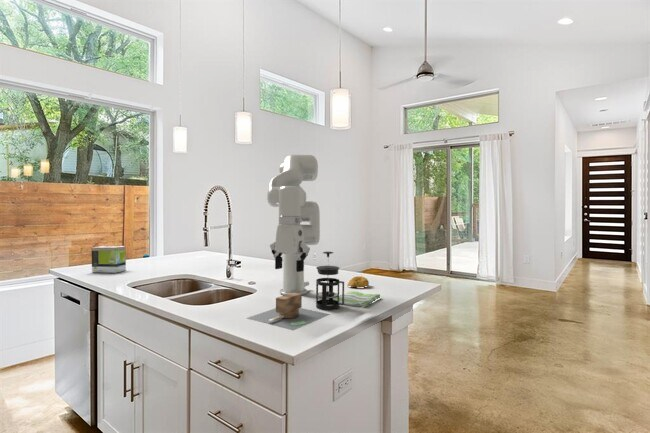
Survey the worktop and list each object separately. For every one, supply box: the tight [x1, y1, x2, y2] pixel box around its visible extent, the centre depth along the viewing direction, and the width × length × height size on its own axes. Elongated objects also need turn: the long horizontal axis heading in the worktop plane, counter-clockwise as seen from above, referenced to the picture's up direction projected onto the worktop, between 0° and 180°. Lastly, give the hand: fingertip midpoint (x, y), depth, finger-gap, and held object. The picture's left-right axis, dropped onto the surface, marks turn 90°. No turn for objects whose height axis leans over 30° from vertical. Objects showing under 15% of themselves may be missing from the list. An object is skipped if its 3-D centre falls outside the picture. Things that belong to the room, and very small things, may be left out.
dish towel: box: [333, 290, 381, 309], centre depth 159 cm, size 17×23×4 cm
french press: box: [315, 251, 345, 311], centre depth 145 cm, size 12×9×23 cm
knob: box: [268, 292, 303, 322], centre depth 132 cm, size 15×7×7 cm, turn 146°
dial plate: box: [246, 307, 330, 331], centre depth 134 cm, size 21×21×2 cm
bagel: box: [347, 275, 370, 287], centre depth 188 cm, size 10×11×5 cm
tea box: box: [91, 245, 127, 274], centre depth 221 cm, size 15×10×15 cm, turn 84°
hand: (289, 269), depth 133 cm, fingers open, 9 cm apart
